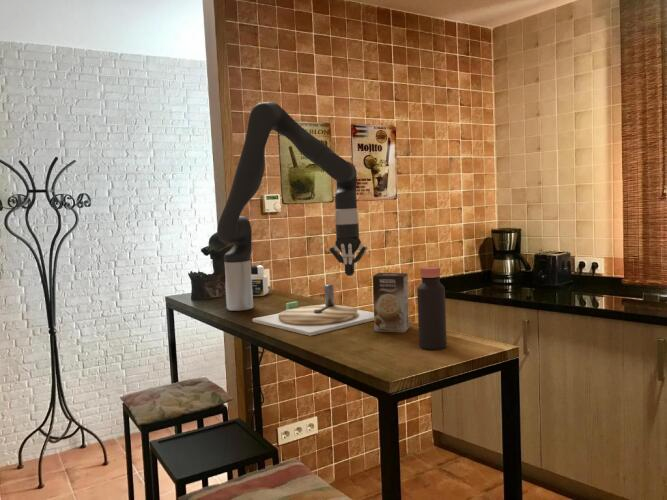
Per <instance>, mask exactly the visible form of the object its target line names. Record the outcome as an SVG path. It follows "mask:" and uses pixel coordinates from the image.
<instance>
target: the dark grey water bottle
mask: <svg viewBox="0 0 667 500" xmlns="http://www.w3.org/2000/svg"><path fill="white" fill-rule="evenodd" d="M419 273H420V279H421V283H420V284H419V285H418V286H417V287H416V288H417V289H416V293H417V294H416V295H417V296H416V297H417V317H418V319H417V321H418V322H417V323H418V344H419V345H418V346H419V347H420V348H421V349H422V350H426V351H427V350H428V351H437V350H438V351H439V350H443V349H445V348H446V347H447V345H448V344H447V317H446V316H447V314H446V312H447V311H446V288H445V286H444V285H443V284H442V283H441V281H440V279H441V275H442V274H441V267H439V266H423V267H420V269H419Z"/></svg>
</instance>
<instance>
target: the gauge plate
mask: <svg viewBox="0 0 667 500" xmlns="http://www.w3.org/2000/svg"><path fill="white" fill-rule="evenodd" d="M321 305H325V303H323V304H321ZM298 306H299V303H298V301H296V300H295V301H292V302H291V301H290V302H286V303H285V310H288V309H292V308H297V307H298ZM279 313H280V312H279ZM279 313H274V314H269V315H264V316H263V315H262V316H259V317H254V318H252V322H253V323H256V324H260V325H265V326H269V327H272V328H277V329H281V330H286V331H289V332H293V333H297V334H301V335H306V336H308V337H311V336H314V335H320V334H324V333H328V332H331V331H336V330H340V329H344V328H349V327H353V326H357V325H361V324H364V323H369V322H372V321H374V311H366V310H362V309H357V316H356V317H354V318H352V319H349V320H345V321H341V322H335V323H327V324H291V323H286V322H282V321H280V320H279V316H278V315H279Z"/></svg>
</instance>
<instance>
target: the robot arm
mask: <svg viewBox="0 0 667 500" xmlns="http://www.w3.org/2000/svg"><path fill="white" fill-rule="evenodd" d="M271 131H274V132H277V133H279V134H280V135H282V136H283V137H285V138H286V139H288V140H289V141H290V142H291V143H292V144H293V146H294V147H295V148H296V149H297V150H298V152H299V153H301V155H302V156H303V157H305V158H306V159H308V160H309V161H310V162H311V163H313V164H314V165H316V166H317V167H319V168H321V169H322V170H323V171H324V172H325V173H326V174H327V175H328V176H330V177H331V179H333V180H335V181H336V191H335V195H334V204H335V206H334V207H335V213H334V217H335V218H334V223H335V237H336V239H335V242H334V245H333V246H332V247H330V248H329V252H330V253H331V254H332V255H333V256H334V259H336V260H337V262H338V263H341V264H343V265H344V273H345V275H346V276H347V277H351V276H353V275H354V274H355V264H356V263H358V262H359V261H360V260H361V258H362V257H363V256H364V255H365V253H366V252H367V250H368V246H365V245H364V244H363V243H362V241H361V238H360V228H359V227H360V226H359V225H360V223H359V222H360V221H359V214H358V213H359V212H358V202H357V200H358V199H357V181H358V180H357V179H358V178H357V177H358V176H357V175H358V174H357V173H358V172H357V168H356V167H355V165H354V163H352V162H350V161H348V160H345V159H344V158H343V157H341V156H340V155H338V154H336V153H335V152H334V151H333V149H331V148H330V147H329V146H328V145H326V144H325V143H324V142H323V141H321V140H319V139H318V138H317V137H315V136H314V135H313V134H311V133H310V132H309V131H307V130H306V129H305V128H304V127H302V126H301V125H300V124H299V123H298V122H297V121H296V120H295V119H293V117H291V115H290V114H289V113H288V112H287V111H286V110H285V109H284V108H283V107H282V106H281V105H280V104H278V103H276V102H274V101H265V102H264V101H263V102H259V103H257V104H256V105H254V106H253V107H252V109H251V111H250V113H249V117H248V123H247V128H246V134H245V135H246V136H245V139H244V144H243V147H242V150H241V152H240V157H239V161H238V163H237V166H236V169H235V173H234V176H233V181H232V184H231V188H230V191H229V195H228V197H227V200H226V203H225V206H224V208H223V210H222V212H221V214H220V218H219V221H218V224H217V228H216V229H217V230H216V231H217V232H216V233H217V238H218V239H219V241H220V242H222V243H225V244H232V247H231V249H229V250H228V251H227V252H225V253H224V254H223V255H224V256H223V260H224V262H223V263H224V273H225V282H224V287H225V302H226V303H225V304H226V309H227V310H228V311H235V312H238V311H246V310H251V309H253V308H254V298H253V297H254V296H253V293H252V278H251V266H252V265H251V254H252V251H253V248H252V247H253V243H252V242H253V241H252V240H253V239H252V237H253V236H252V234H253V233H252V225H251V223H250V220H249V219H248V218H247V216H244V215H241V214H242V212H243V210H244V208H245V206H246V205H247V204H248V203H249V202H250V200H252V199H253V197H254V196H255V195H256V193H257V192H258V191H259V189H260V186H261V184H262V181H263V179H264V174H265V170H266V169H265V167H266V162H265V150H266V149H265V148H266V145H267V142H268V139H269V136H270V133H271ZM339 251H340V252H339ZM357 251H358V253H357ZM356 253H357V254H356Z"/></svg>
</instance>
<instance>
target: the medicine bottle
mask: <svg viewBox="0 0 667 500" xmlns="http://www.w3.org/2000/svg"><path fill="white" fill-rule="evenodd" d="M264 268H265V267H264V266H263V265H260V264H256V265H255V264H254V265H251V278H252V293H253V297H261V296H262V297H264V296H265V295H267V294H268V293H269V284H268V283H269V282H268V276H267V275H265V269H264Z"/></svg>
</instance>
